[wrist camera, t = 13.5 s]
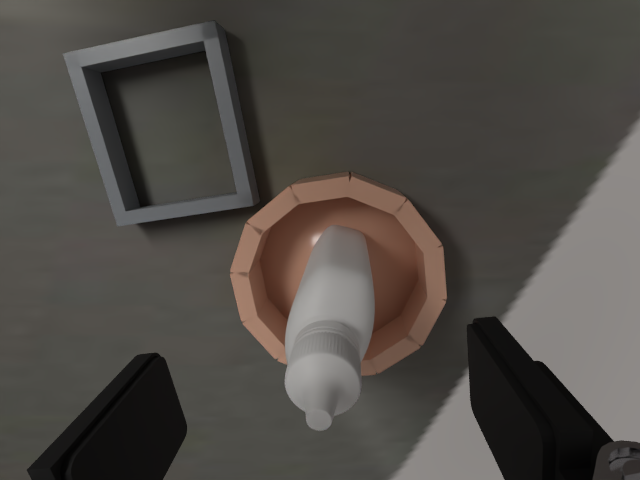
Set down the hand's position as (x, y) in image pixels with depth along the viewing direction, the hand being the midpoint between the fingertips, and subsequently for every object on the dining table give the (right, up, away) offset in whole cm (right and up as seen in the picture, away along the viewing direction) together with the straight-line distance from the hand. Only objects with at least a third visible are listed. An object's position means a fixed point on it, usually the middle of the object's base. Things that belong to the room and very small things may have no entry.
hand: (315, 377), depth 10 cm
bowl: (+1, +3, +11) cm, 12 cm away
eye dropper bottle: (+1, +3, +11) cm, 11 cm away
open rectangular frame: (-9, +11, +10) cm, 17 cm away
